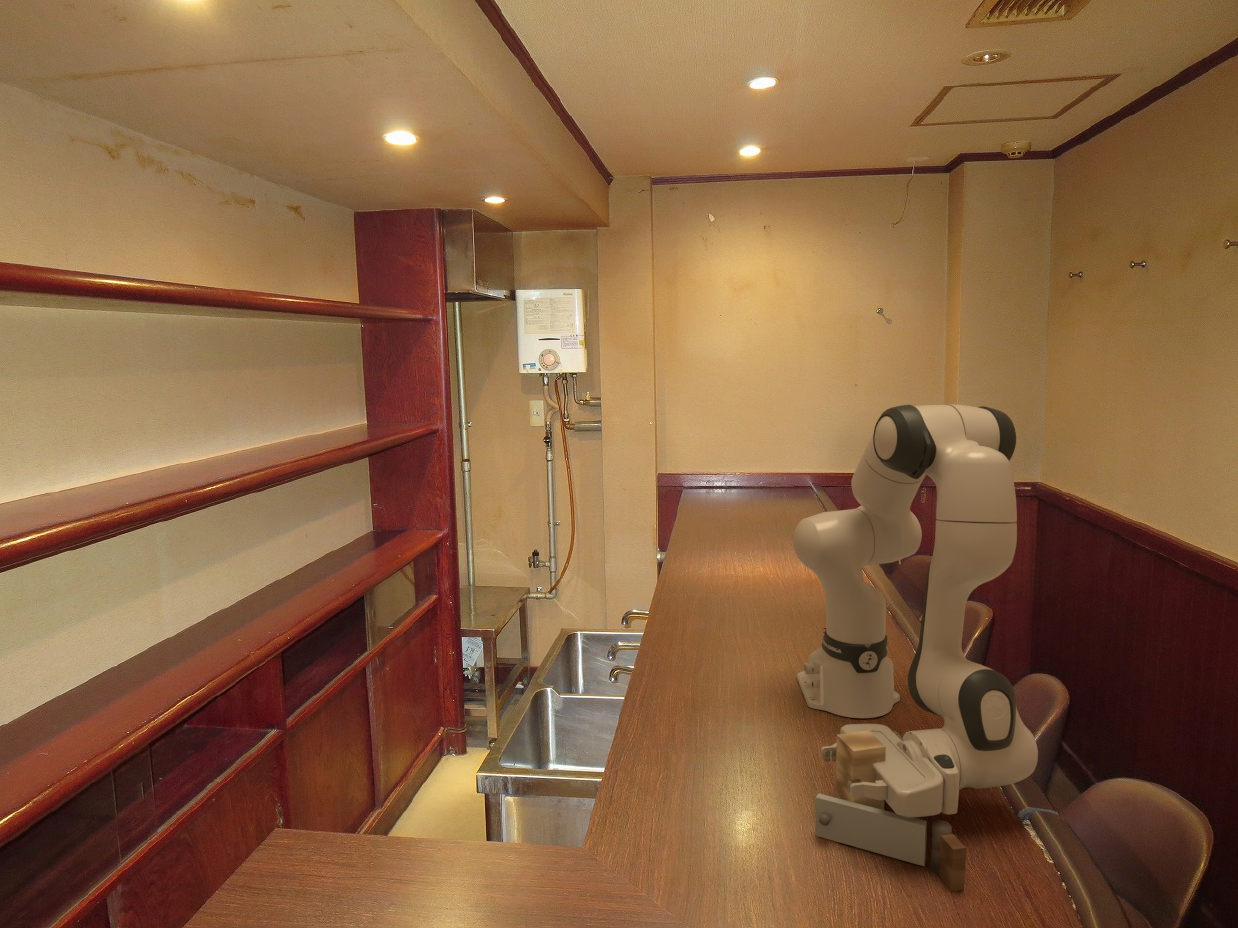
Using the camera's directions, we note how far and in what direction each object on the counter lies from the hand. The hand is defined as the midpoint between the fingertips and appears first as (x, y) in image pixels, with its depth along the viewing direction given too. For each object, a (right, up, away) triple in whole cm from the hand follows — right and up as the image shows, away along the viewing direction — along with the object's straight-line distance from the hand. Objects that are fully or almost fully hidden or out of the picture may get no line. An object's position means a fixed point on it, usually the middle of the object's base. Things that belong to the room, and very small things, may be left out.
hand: (835, 770), depth 117 cm
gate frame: (+11, -10, +2) cm, 15 cm away
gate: (+4, -10, -3) cm, 11 cm away
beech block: (+4, -10, +3) cm, 11 cm away
